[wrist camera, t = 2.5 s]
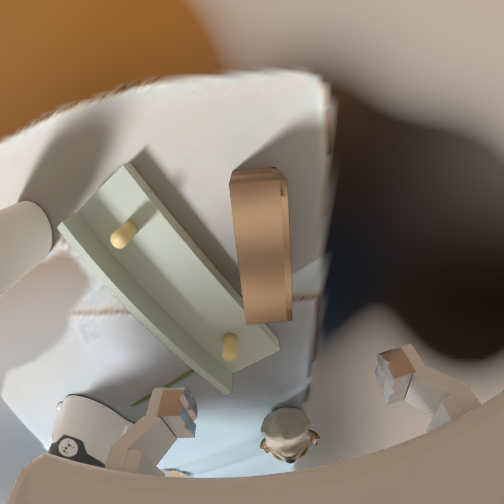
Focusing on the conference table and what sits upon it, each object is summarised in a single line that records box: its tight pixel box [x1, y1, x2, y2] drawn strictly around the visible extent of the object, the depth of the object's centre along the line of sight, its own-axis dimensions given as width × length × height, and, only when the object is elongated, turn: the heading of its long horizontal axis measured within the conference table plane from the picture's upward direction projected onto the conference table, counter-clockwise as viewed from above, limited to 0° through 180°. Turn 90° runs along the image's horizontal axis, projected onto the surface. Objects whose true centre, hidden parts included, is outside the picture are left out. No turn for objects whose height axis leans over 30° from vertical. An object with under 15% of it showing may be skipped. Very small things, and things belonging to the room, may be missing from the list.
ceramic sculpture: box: [260, 407, 320, 463], centre depth 39 cm, size 11×9×15 cm
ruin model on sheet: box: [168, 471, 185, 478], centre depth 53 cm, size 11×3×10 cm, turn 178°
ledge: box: [57, 163, 280, 396], centre depth 28 cm, size 26×8×5 cm, turn 35°
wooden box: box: [229, 167, 292, 325], centre depth 25 cm, size 12×4×7 cm, turn 5°
